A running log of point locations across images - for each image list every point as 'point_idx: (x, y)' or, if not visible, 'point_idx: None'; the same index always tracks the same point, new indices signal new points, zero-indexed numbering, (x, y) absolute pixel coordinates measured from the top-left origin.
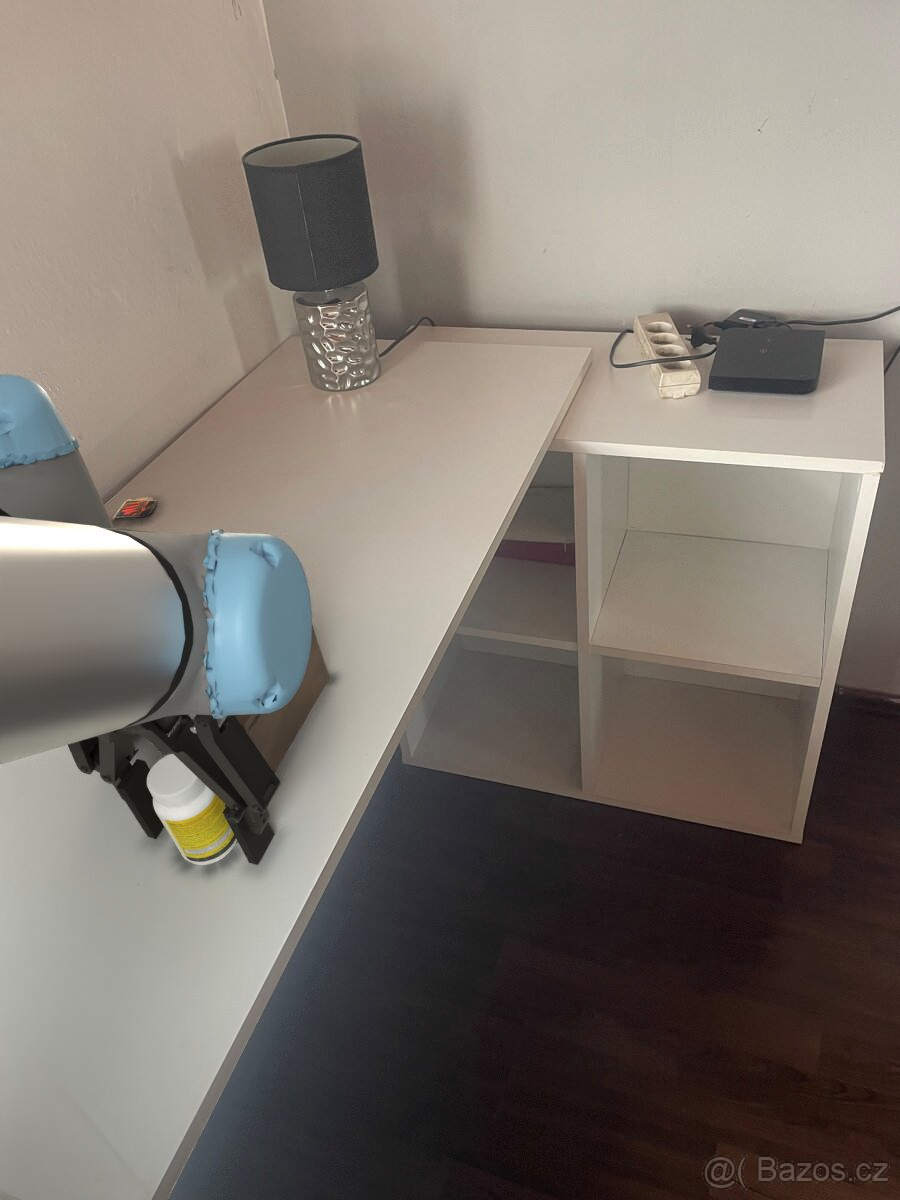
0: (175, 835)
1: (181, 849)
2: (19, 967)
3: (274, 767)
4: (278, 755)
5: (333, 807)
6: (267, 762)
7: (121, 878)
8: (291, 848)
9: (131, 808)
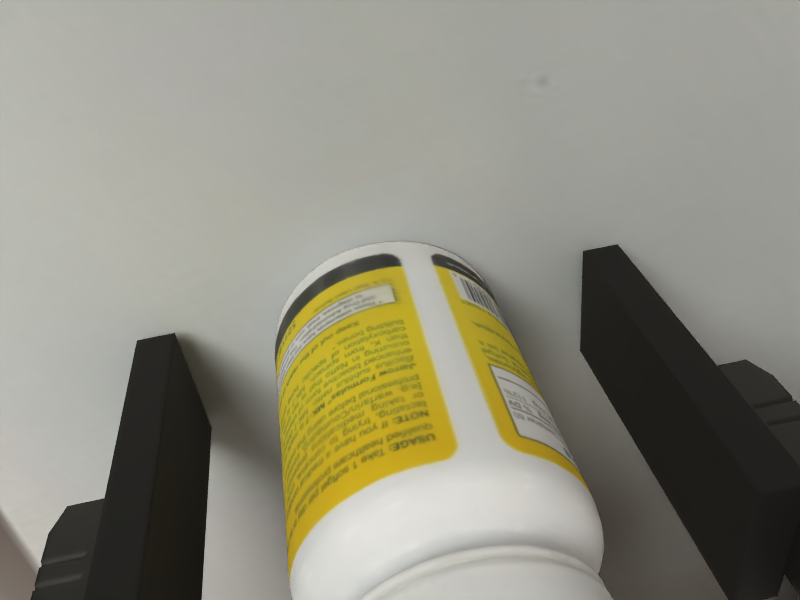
0: (417, 363)
1: (412, 289)
2: None
3: None
4: None
5: None
6: None
7: (629, 69)
8: (90, 422)
9: (702, 367)
